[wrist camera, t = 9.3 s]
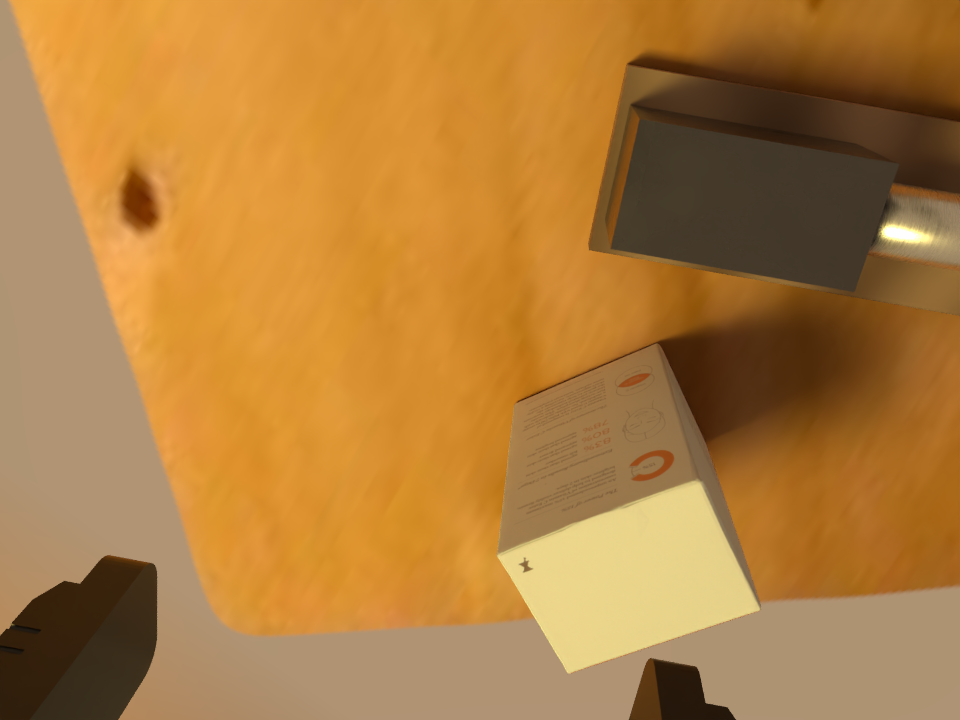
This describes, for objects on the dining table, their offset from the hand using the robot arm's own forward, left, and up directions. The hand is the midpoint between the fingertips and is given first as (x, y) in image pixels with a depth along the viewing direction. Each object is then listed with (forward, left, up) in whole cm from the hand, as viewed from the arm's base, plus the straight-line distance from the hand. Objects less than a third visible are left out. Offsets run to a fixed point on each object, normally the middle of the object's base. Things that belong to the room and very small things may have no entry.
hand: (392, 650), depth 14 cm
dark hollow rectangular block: (-4, +9, -27) cm, 29 cm away
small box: (+9, +7, -28) cm, 31 cm away
